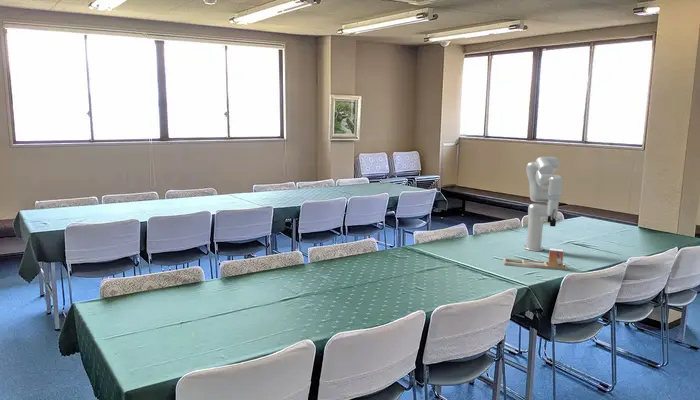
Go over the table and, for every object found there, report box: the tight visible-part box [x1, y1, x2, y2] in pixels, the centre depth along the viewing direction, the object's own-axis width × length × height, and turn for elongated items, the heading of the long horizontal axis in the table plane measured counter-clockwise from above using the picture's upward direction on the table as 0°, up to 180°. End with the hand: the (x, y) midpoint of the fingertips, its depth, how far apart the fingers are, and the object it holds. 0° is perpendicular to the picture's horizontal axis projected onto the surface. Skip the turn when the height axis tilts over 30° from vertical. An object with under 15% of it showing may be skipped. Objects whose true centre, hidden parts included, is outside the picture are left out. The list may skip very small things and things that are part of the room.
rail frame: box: [502, 257, 568, 271], centre depth 322 cm, size 10×36×2 cm, turn 77°
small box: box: [547, 247, 564, 267], centre depth 319 cm, size 8×6×10 cm
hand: (551, 224), depth 324 cm, fingers open, 9 cm apart
